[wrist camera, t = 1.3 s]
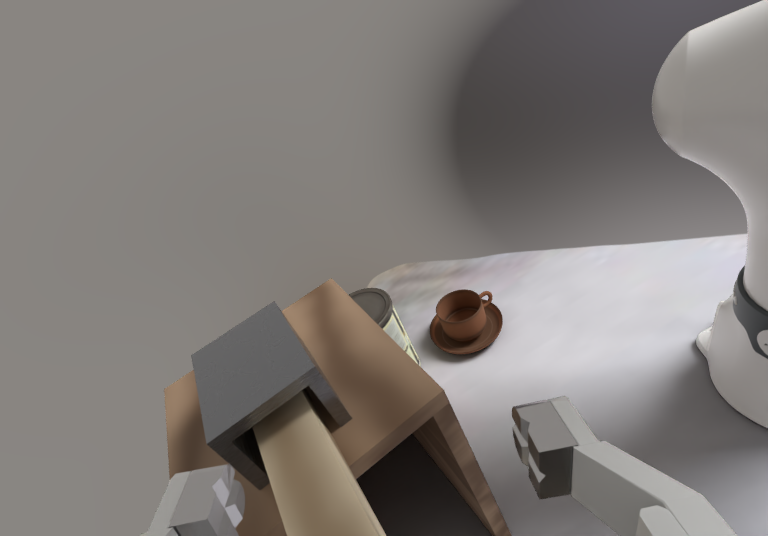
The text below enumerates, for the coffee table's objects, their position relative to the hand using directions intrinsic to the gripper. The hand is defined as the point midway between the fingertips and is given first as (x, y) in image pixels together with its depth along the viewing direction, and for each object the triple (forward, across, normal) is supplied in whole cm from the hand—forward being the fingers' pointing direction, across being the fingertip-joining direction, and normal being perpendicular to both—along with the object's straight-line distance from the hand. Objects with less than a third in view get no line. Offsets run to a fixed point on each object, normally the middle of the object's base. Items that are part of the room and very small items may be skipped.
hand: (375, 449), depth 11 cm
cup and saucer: (+46, -13, +31) cm, 58 cm away
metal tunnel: (+17, +8, +13) cm, 23 cm away
